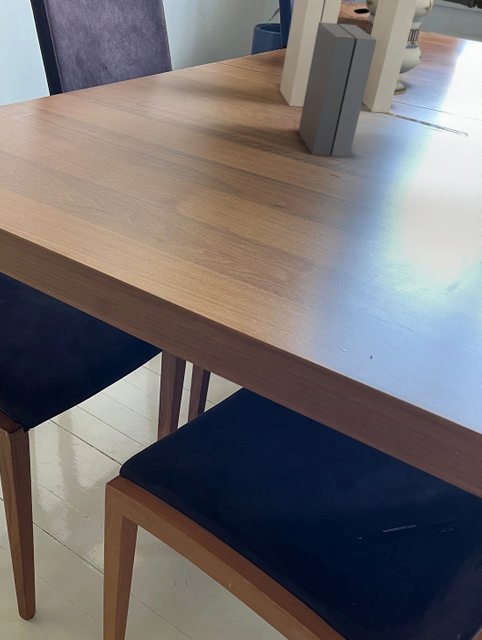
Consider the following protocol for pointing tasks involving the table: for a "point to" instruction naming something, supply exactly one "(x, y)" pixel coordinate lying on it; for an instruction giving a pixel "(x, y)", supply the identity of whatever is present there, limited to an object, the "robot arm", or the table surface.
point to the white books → (304, 45)
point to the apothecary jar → (411, 50)
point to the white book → (388, 51)
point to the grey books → (335, 88)
